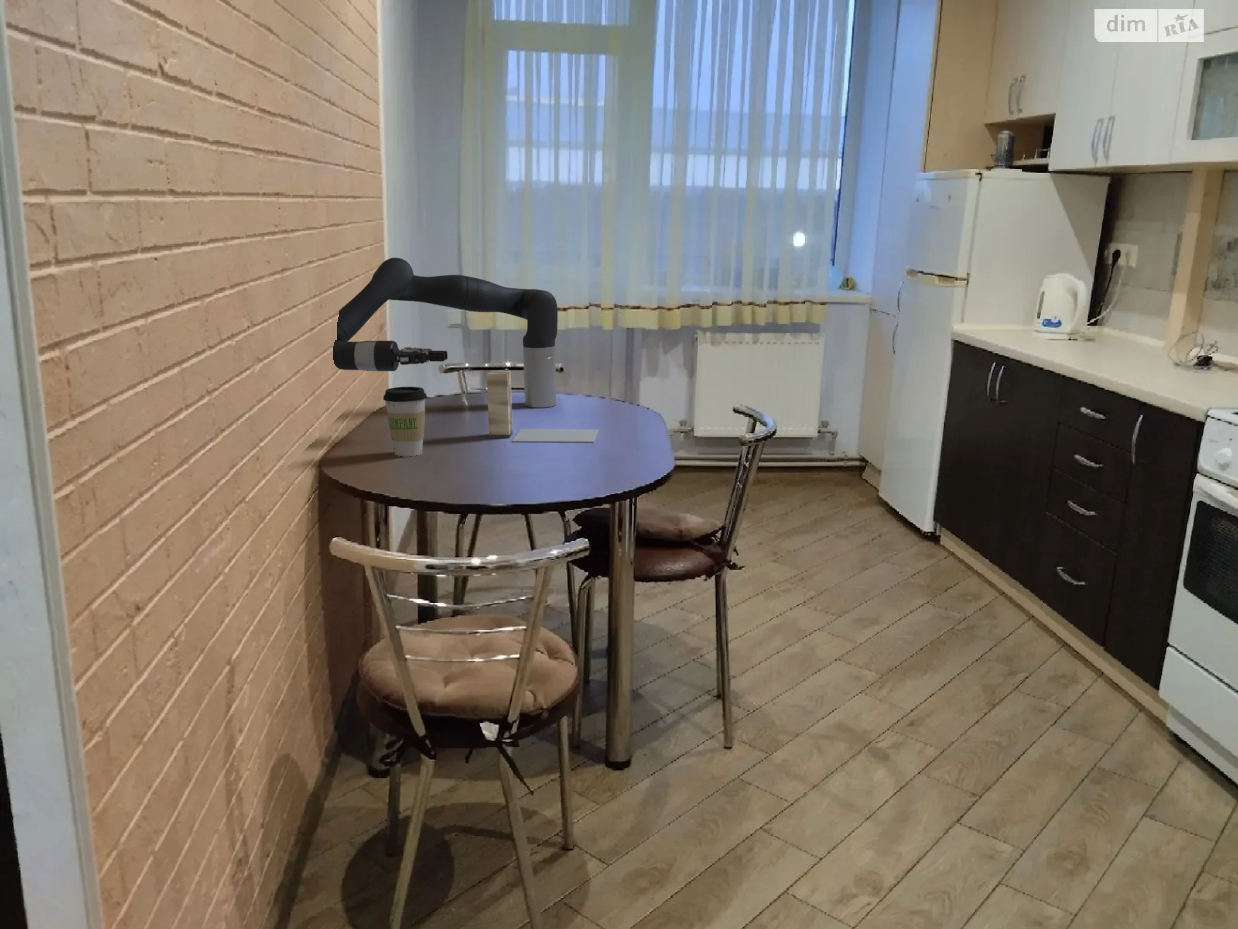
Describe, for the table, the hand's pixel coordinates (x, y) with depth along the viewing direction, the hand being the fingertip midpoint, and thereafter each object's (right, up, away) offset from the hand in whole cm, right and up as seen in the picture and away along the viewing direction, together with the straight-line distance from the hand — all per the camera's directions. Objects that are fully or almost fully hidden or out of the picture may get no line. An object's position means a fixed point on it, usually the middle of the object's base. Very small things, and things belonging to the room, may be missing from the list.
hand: (445, 356), depth 240 cm
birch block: (+13, -20, +4) cm, 24 cm away
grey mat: (+27, -20, +3) cm, 34 cm away
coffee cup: (-6, -24, -14) cm, 29 cm away
